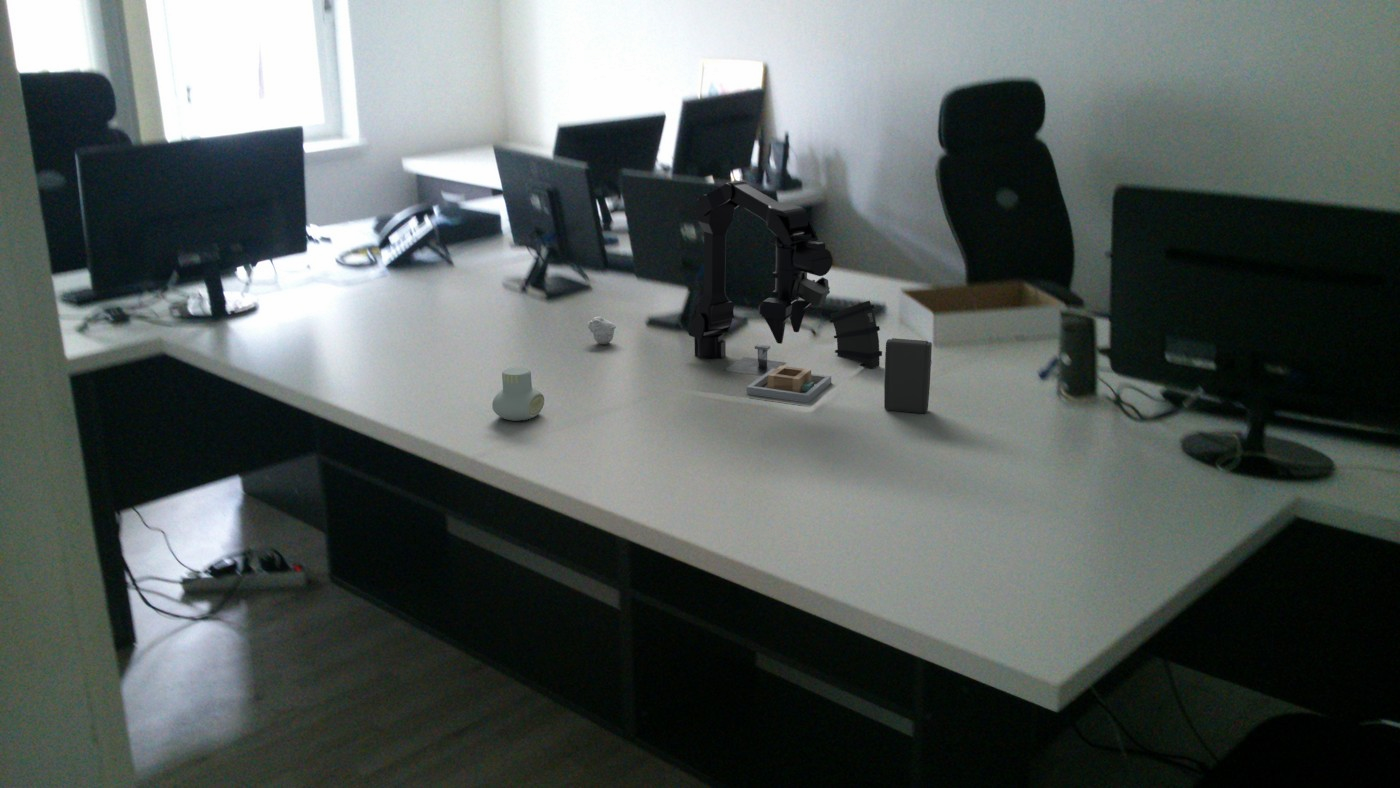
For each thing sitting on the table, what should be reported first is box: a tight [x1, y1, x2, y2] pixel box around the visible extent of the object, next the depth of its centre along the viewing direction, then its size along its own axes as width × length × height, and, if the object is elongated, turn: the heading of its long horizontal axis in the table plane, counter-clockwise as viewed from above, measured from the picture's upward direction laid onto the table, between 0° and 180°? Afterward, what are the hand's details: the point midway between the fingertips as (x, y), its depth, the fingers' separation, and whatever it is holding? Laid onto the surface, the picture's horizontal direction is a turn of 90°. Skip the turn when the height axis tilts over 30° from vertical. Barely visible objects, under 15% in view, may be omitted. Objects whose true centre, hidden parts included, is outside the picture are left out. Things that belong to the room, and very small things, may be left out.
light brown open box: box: [767, 365, 815, 393], centre depth 259 cm, size 7×9×4 cm
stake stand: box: [723, 344, 787, 377], centre depth 274 cm, size 11×11×6 cm
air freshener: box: [492, 366, 545, 422], centre depth 247 cm, size 11×8×10 cm
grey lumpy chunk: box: [587, 316, 617, 345], centre depth 296 cm, size 6×7×7 cm
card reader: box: [883, 337, 933, 414], centre depth 246 cm, size 9×4×15 cm, turn 71°
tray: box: [746, 368, 832, 407], centre depth 259 cm, size 14×14×2 cm
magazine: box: [829, 300, 883, 370], centre depth 278 cm, size 4×13×15 cm, turn 40°
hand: (788, 337), depth 258 cm, fingers open, 9 cm apart
